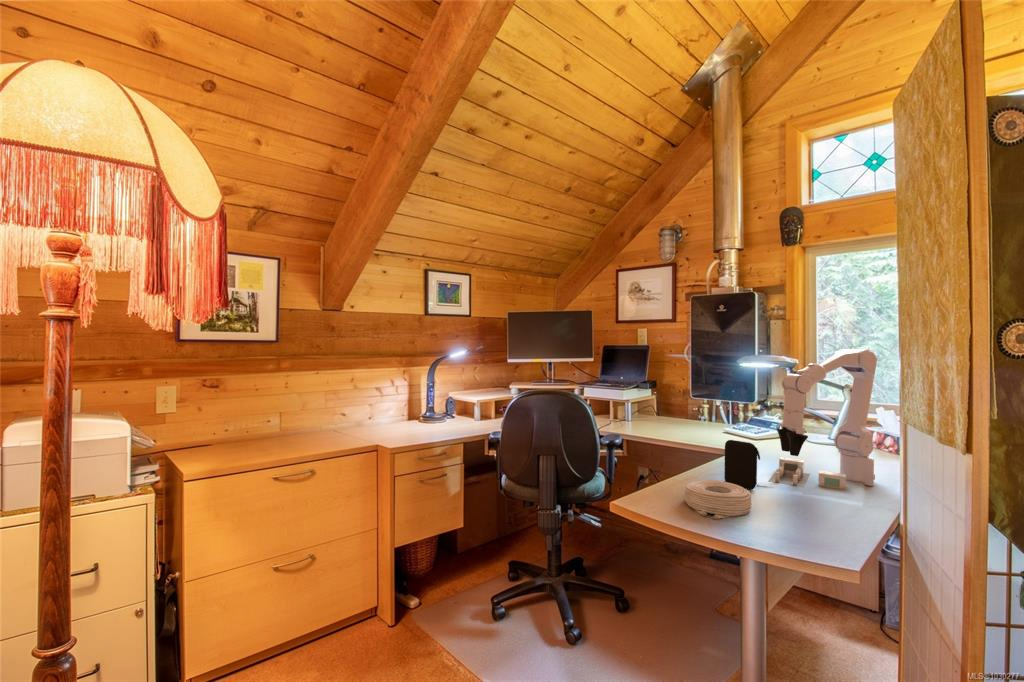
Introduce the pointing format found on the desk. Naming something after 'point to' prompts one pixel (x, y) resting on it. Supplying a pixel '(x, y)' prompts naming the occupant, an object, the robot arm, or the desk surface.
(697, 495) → the cable
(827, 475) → the light wooden block
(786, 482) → the grey peg board
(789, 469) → the tan rectangular block
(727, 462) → the carrying case or bag
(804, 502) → the desk surface
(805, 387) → the robot arm
